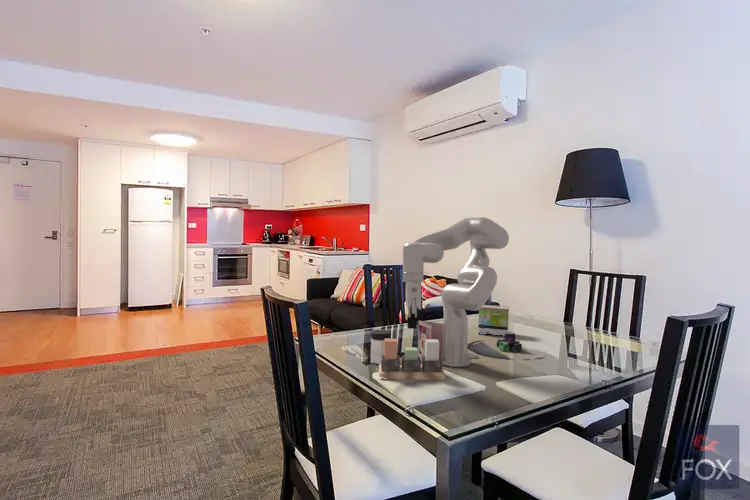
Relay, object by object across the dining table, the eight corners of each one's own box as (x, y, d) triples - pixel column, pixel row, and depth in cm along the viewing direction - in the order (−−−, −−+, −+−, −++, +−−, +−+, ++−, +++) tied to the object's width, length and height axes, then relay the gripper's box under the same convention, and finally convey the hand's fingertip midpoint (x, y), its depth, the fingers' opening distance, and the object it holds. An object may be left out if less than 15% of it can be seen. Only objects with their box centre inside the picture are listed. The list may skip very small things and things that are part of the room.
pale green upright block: (416, 366, 157) (416, 347, 157) (417, 370, 153) (418, 350, 152) (404, 366, 157) (404, 347, 157) (405, 369, 153) (405, 350, 152)
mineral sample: (555, 363, 174) (555, 340, 174) (467, 356, 181) (467, 334, 181) (539, 347, 208) (540, 329, 208) (466, 342, 215) (466, 324, 215)
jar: (365, 362, 169) (366, 332, 169) (375, 357, 176) (376, 328, 176) (385, 365, 165) (386, 335, 165) (395, 360, 172) (395, 331, 172)
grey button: (436, 358, 157) (437, 339, 157) (438, 361, 153) (439, 342, 152) (424, 358, 157) (425, 339, 157) (426, 361, 153) (426, 342, 152)
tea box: (477, 334, 224) (478, 306, 223) (479, 330, 233) (479, 303, 233) (507, 337, 219) (508, 308, 219) (507, 333, 229) (508, 305, 228)
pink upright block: (396, 357, 157) (396, 338, 157) (396, 361, 152) (397, 341, 152) (384, 357, 157) (384, 338, 157) (384, 360, 152) (384, 341, 152)
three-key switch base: (440, 370, 160) (440, 354, 160) (445, 380, 149) (445, 363, 149) (378, 369, 160) (379, 353, 160) (379, 379, 149) (379, 361, 149)
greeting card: (416, 355, 181) (416, 320, 181) (431, 354, 184) (432, 319, 183) (428, 363, 170) (429, 325, 170) (444, 361, 173) (445, 324, 172)
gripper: (425, 279, 147) (424, 332, 147) (420, 275, 162) (420, 324, 162) (404, 279, 147) (403, 332, 147) (401, 275, 161) (400, 323, 162)
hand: (412, 327), depth 155 cm, fingers closed
